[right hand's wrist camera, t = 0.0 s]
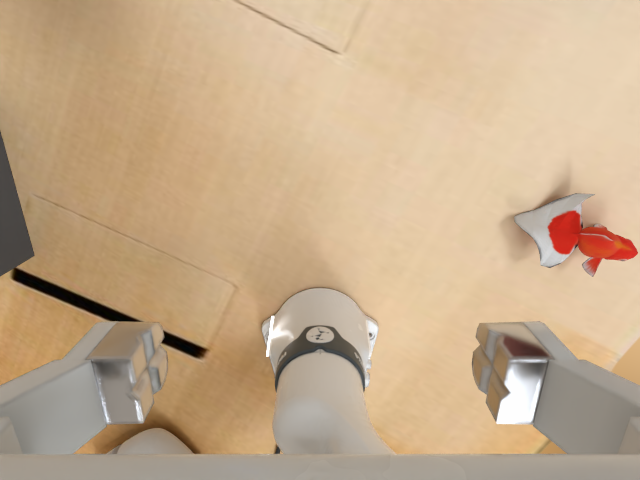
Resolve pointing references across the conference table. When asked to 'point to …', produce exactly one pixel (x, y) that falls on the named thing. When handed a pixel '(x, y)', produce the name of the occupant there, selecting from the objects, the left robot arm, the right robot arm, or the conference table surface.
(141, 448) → the white slotted housing
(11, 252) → the bar
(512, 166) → the conference table surface
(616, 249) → the red white irregular piece
